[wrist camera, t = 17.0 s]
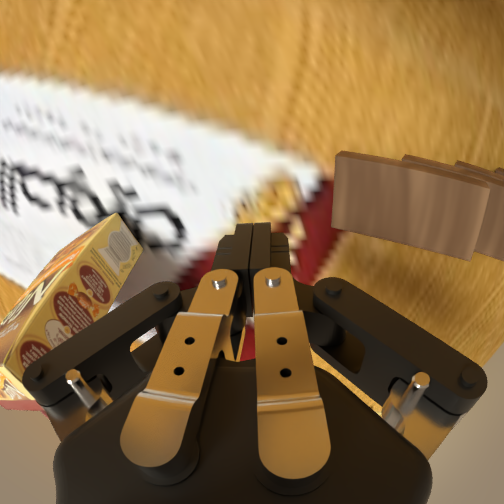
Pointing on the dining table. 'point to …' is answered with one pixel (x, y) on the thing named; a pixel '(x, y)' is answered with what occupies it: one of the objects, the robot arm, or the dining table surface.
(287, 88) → the dining table surface
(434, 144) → the dining table surface
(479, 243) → the walnut domino
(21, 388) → the candy box
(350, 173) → the walnut domino
